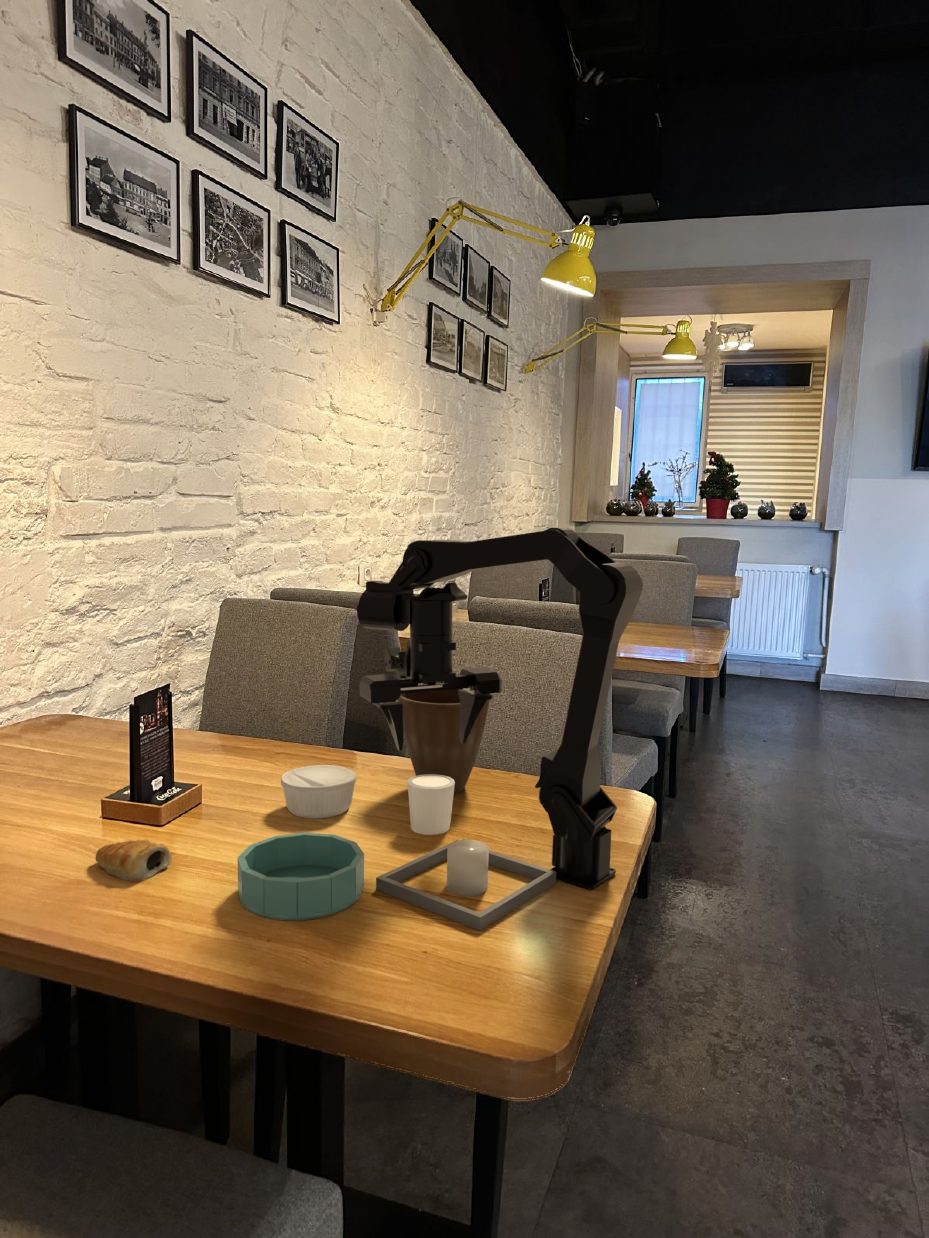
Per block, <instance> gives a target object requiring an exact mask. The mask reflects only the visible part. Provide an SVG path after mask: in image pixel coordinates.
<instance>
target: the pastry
mask: <svg viewBox="0 0 929 1238" xmlns="http://www.w3.org/2000/svg"><path fill="white" fill-rule="evenodd" d="M94 858H95V861H96V863H97V864H98V865H99V866H100V868H103V869H104V870H105V871H106V872H107V874H108V875H109V876H114V877H117V878H120V879H123V880H125V881H130V882H142V881H144V880H147V879H149V878H152V877H153V876H154V875H156V874H157V873H158V872H161V871H162V870H165V869H166V868H167V867H169V866H170V864H171V862H172V859H173V857H172V852H171V850H170V849H169V847H168V845H167V846H166V845H165V844H164V843H163V842H162V843H160V844H159V843H157V842H155V841H150V840H148V839H136V840H134V839H133V840H132V839H131V840H126V841H125V840H124V841H121V842H119V841H118V842H116V843H112V844H106V845H104V846H102V847H101V848H99V849H98V850H97V851H96V854H95V857H94Z"/></svg>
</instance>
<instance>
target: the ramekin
mask: <svg viewBox="0 0 929 1238" xmlns="http://www.w3.org/2000/svg"><path fill="white" fill-rule="evenodd" d="M356 782H357V773H356V771H354V770H352V769H350V768H347V767H344V766H340V765H332V764H318V765H306V766H302V767H301V766H300V767H295V768H293V769H290V770H288V771H287V772H284V773H283V775H282V776H281V777H280V785H281V787H282V788H283V794H284V799H285V800H284V801H285V804H286V808H287V809H288V811H290V813H291V814H293V815H295V816H296V817H300V818H304V819H305V818H306V819H325V818H326V819H327V818H333V817H335V816H339V815H341V814H344V813H345V812H347V810H348V809H349V808H350V807H351V805H352V801H353V796H354V790H355V784H356Z"/></svg>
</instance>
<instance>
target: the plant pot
mask: <svg viewBox="0 0 929 1238" xmlns="http://www.w3.org/2000/svg"><path fill="white" fill-rule="evenodd" d="M418 685H419V686H420V685H421V684H418ZM458 690H462V689H451V690H439V691H427V692H415V693H403V694H401V696H400V697H399V698H398V701H399V702H400V703H402V704H403V735H404V737H405V738H404V739H405V742H406V747H407V751H408V755H409V757H410V761H411V766H412V768H413V771H414V774H415V776H417V775H424V774H436V775H444V776H447V777H450V778H452V779H454V781H455V786H454V794H459V793H460V792H462V791H463V790H464V789H466V786H467V783H468V780H469V778H470V776H471V773H472V772H473V767H474V765H475V763H476V759H477V755H478V752H479V749H480V747H481V742H482V739H483V734H484V731H485V726H486V722H487V721H486V720H487V716H488V710H489V704H490V700H487V701H486V703H485V705H484V707H483V708H482V710H481V712H480V713H479V715H478V717H477V719H476V721H475V723H474V725H473V727H472V730H471V732H470V734H469V736H468V739H467V741H466V743H465V744H462V743H460V736H459V725H460V706H461V703H460V698H459V694H458Z"/></svg>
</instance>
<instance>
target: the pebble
mask: <svg viewBox="0 0 929 1238" xmlns="http://www.w3.org/2000/svg"><path fill="white" fill-rule="evenodd" d="M448 844H449V843H448ZM489 850H490V847H489V846H488V844H487V843H485V842H483V841H479V840H476V839H459V840H458V841H456V840H455V841H451V842H450V844H449V845H448V847H447V860H446V890H447V891H449V892H450V893H452V894H454V895H458V896H462V897H474V896H479V895H482V894H485V893H486V892H487V890H488V888H489V885H488V884H489V864H488V860H489Z"/></svg>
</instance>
